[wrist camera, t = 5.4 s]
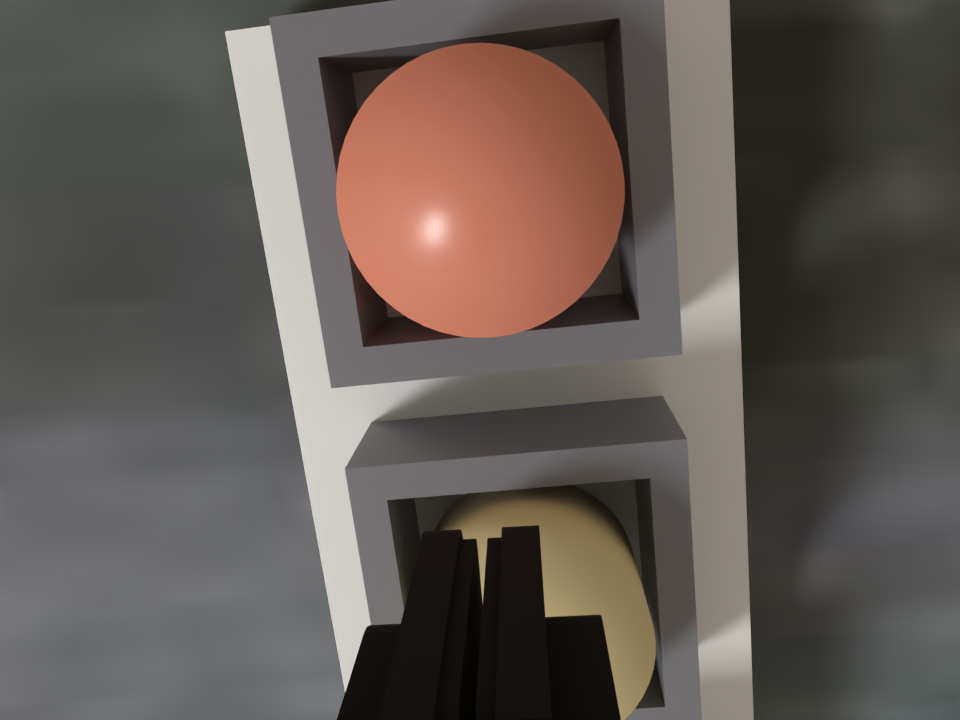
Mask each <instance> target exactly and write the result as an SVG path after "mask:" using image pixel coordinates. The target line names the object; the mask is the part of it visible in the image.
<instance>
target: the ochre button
mask: <svg viewBox="0 0 960 720" xmlns="http://www.w3.org/2000/svg"><path fill="white" fill-rule="evenodd" d="M534 525H539V530H540V545H541V560H542V575H543V590H544V605H545V617H558V616H580V615H601V616H602V620H603V625H604V631H605V636H606V642H607V647H608V653H609V658H610V663H611V669H612V674H613V680H614V685H615V691H616V696H617V701H618V707H619V712H620V718H621V720H625V719H626V718H627V717H628V716H629V715H630V714H631V713H632V711H633V710H634V709H635V708H636V706H637V705H638V703H639V702H640V700H641V699H642V698H643V696H644V694H645V691H646V689H647V687H648V685H649V683H650V680H651V677H652V673H653V670H654V664H655V657H656V641H655V634H654V627H653V624H652V620H651V616H650V612H649V609H648V605H647V601H646V598H645V594H644V590H643V586H642V583H641V579H640V575H639V572H638V568H637V564H636V560H635V557H634V553H633V550H632V546H631V543H630V540H629V538H628V536H627V534H626V532H625V529H624V528H623V526H622V525H621V523H620V522H619V520H618V519H617V517H616V516H615V515H614V514H613V513H612V512H611V511H610V509H609V508H608V507H607V506H605V505H604V504H603V503H602V502H601V501H600V500H599V499H597V498H596V497H594V496H593V495H591V494H590V493H588V492H587V491H585V490H583V489H581V488H579V487H577V486H575V485H564V486H552V487H540V488H528V489H516V490H504V491H491V492H479V493H468V494H466V495H465V496H464V497H462V498H461V499H460V500H458V501H457V502H456V503H455V504H454V505H453V506H452V507H451V508H450V509H449V510H448V511H447V512H446V513H445V515H444V516H443V517H442V519H441V520H440V521H439V523H438V525H437V526H436V528H435V530H434V531H440V530H459V529H461V531H462V535H463V539H476V540H477V547H478V557H479V568H480V579H481V591H482V602H483V594H484V580H485V566H486V552H487V539H488V538H497V537H501V535H502V527H515V526H534Z"/></svg>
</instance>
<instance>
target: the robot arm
mask: <svg viewBox="0 0 960 720" xmlns="http://www.w3.org/2000/svg"><path fill="white" fill-rule="evenodd" d="M337 720H621V718H620V712H619V707H618V701H617V696H616V691H615V685H614V680H613V674H612V669H611V663H610V658H609V653H608V647H607V642H606V636H605V631H604V625H603V620H602V616H601V615H580V616H558V617H545V605H544V590H543V575H542V560H541V545H540V530H539V525H534V526H515V527H502V535H501V537H497V538H488V539H487V552H486V566H485V580H484V594H483V602H482V591H481V579H480V568H479V557H478V547H477V540H476V539H463V535H462V531H461V529H459V530H440V531H423V534H422V537H421V542H420V546H419V550H418V554H417V558H416V562H415V567H414V571H413V575H412V579H411V583H410V587H409V591H408V596H407V600H406V604H405V608H404V612H403V616H402V621H401V624H383V625H369V626H367V627H366V630H365V632H364V634H363V637H362V641H361V644H360V647H359V650H358V654H357V657H356V660H355V663H354V666H353V670H352V673H351V676H350V679H349V682H348V686H347V689H346V692H345V695H344V698H343V702H342V705H341V708H340V711H339V715H338V718H337Z"/></svg>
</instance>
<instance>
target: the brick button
mask: <svg viewBox="0 0 960 720" xmlns="http://www.w3.org/2000/svg"><path fill="white" fill-rule="evenodd" d="M336 199H337V210H338V216H339V221H340V225H341V230H342V233H343V236H344V239H345V242H346V245H347V247H348V250H349V252H350V254H351V256H352V258H353V260H354V262H355V264H356V266H357V267H358V269H359V270H360V272H361V273H362V275H363V276H364V278H365V279H366V281H367V282H368V283H369V284H370V285H371V287H372V288H373V289H374V290H375V291H376V292H377V293H378V295H379V296H381V297H382V298H383V299H384V300H385V301H386V302H387V303H388V304H390V305H391V306H392V307H393V308H394V309H396V310H397V311H399V312H400V313H402V314H403V315H405V316H406V317H408V318H409V319H411V320H413V321H415V322H417V323H419V324H421V325H423V326H425V327H428V328H431V329H434V330H436V331H439V332H442V333H447V334H451V335H456V336H462V337H473V338H488V337H499V336H505V335H512V334H515V333H519V332H522V331H525V330H529V329H531V328H534V327H536V326H538V325H540V324H543V323H545V322H547V321H549V320H550V319H552V318H554V317H555V316H557V315H558V314H560V313H562V312H563V311H564V310H566V309H567V308H568V307H569V306H571V305H572V304H573V303H574V302H576V301H577V300H578V299H579V298H580V297H581V296H582V295H583V294H584V293H585V292H586V290H587V289H588V288H589V287H590V286H591V285H592V283H593V282H594V281H595V279H596V278H597V277H598V275H599V274H600V273H601V271H602V269H603V267H604V266H605V264H606V262H607V260H608V259H609V257H610V255H611V252H612V250H613V247H614V245H615V242H616V240H617V237H618V233H619V229H620V226H621V222H622V216H623V209H624V201H625V180H624V173H623V165H622V159H621V156H620V152H619V148H618V145H617V141H616V139H615V137H614V134H613V132H612V129H611V127H610V125H609V123H608V121H607V119H606V117H605V116H604V114H603V112H602V111H601V109H600V107H599V106H598V104H597V103H596V102H595V101H594V99H593V98H592V97H591V95H590V94H589V93H588V92H587V90H586V89H585V88H584V87H582V86H581V85H580V84H579V83H578V82H577V81H576V80H575V79H574V78H573V77H572V76H571V75H569V74H568V73H567V72H565V71H564V70H563V69H561V68H560V67H559V66H557V65H556V64H554V63H552V62H550V61H548V60H546V59H545V58H543V57H541V56H539V55H536V54H534V53H531V52H528V51H526V50H523V49H520V48H516V47H511V46H507V45H502V44H492V43H467V44H458V45H453V46H448V47H443V48H440V49H437V50H434V51H432V52H429V53H426V54H423V55H421V56H419V57H418V58H416V59H414V60H412V61H410V62H408V63H406V64H405V65H403V66H402V67H400V68H399V69H398V70H396V71H395V72H393V73H392V74H390V75H389V76H388V77H387V78H386V79H385V80H384V81H383V82H382V83H381V84H380V85H379V86H378V87H376V89H375V90H374V91H373V92H372V93H371V95H370V96H369V97H368V98H367V100H366V101H365V102H364V103H363V105H362V106H361V108H360V110H359V111H358V113H357V115H356V116H355V118H354V119H353V122H352V124H351V126H350V128H349V130H348V133H347V135H346V137H345V140H344V144H343V147H342V150H341V154H340V158H339V164H338V170H337V180H336Z"/></svg>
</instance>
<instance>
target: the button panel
mask: <svg viewBox="0 0 960 720" xmlns="http://www.w3.org/2000/svg"><path fill="white" fill-rule="evenodd" d="M269 22H270V26H262V27H255V28H248V29H240V30H233V31H226V32H225V34H226V40H227V45H228V51H229V56H230V62H231V67H232V73H233V78H234V84H235V89H236V95H237V100H238V106H239V111H240V117H241V122H242V128H243V133H244V139H245V144H246V150H247V155H248V161H249V166H250V172H251V177H252V183H253V188H254V194H255V199H256V205H257V210H258V216H259V221H260V227H261V232H262V238H263V243H264V249H265V254H266V260H267V265H268V271H269V276H270V282H271V287H272V293H273V298H274V304H275V309H276V315H277V320H278V326H279V331H280V337H281V342H282V348H283V353H284V359H285V364H286V370H287V375H288V381H289V386H290V392H291V397H292V403H293V408H294V414H295V419H296V425H297V430H298V436H299V441H300V447H301V452H302V458H303V463H304V469H305V474H306V480H307V485H308V491H309V496H310V502H311V507H312V513H313V518H314V524H315V529H316V535H317V540H318V546H319V551H320V557H321V562H322V568H323V573H324V579H325V584H326V590H327V595H328V601H329V606H330V612H331V617H332V623H333V628H334V634H335V639H336V645H337V650H338V656H339V661H340V667H341V672H342V678H343V683H344V689H345V692H346V689H347V686H348V682H349V679H350V676H351V673H352V670H353V666H354V663H355V660H356V657H357V654H358V650H359V647H360V644H361V641H362V637H363V634H364V632H365V630H366V627H367V626H369V625H383V624H401V621H402V616H403V612H404V608H405V604H406V600H407V596H408V591H409V587H410V583H411V579H412V575H413V571H414V567H415V562H416V558H417V554H418V550H419V546H420V542H421V537H422V534H423V531H434V530H435V528H436V526H437V525H438V523H439V521H440V520H441V519H442V517H443V516H444V515H445V513H446V512H447V511H448V510H449V509H450V508H451V507H452V506H453V505H454V504H455V503H456V502H457V501H458V500H460V499H461V498H462V497H464V496H465V495H466V494H468V493H479V492H491V491H504V490H516V489H528V488H540V487H552V486H564V485H575V486H577V487H579V488H581V489H583V490H585V491H587V492H588V493H590V494H591V495H593V496H594V497H596V498H597V499H599V500H600V501H601V502H602V503H603V504H604V505H605V506H607V507H608V508H609V509H610V511H611V512H612V513H613V514H614V515H615V516H616V517H617V519H618V520H619V522H620V523H621V525H622V526H623V528H624V529H625V532H626V534H627V536H628V538H629V540H630V543H631V546H632V550H633V553H634V557H635V560H636V564H637V568H638V572H639V575H640V579H641V583H642V586H643V590H644V594H645V598H646V601H647V605H648V609H649V612H650V616H651V620H652V624H653V627H654V634H655V641H656V657H655V664H654V670H653V673H652V677H651V680H650V683H649V685H648V687H647V689H646V691H645V694H644V696H643V698H642V699H641V700H640V702H639V703H638V705H637V706H636V708H635V709H634V710H633V711H632V713H631V714H630V715H629V716H628V717H627V718H626V719H625V720H754V716H753V686H752V656H751V626H750V596H749V567H748V537H747V507H746V477H745V447H744V417H743V388H742V358H741V328H740V298H739V268H738V238H737V209H736V179H735V149H734V119H733V89H732V59H731V30H730V0H392V1H385V2H378V3H370V4H363V5H356V6H348V7H341V8H333V9H326V10H319V11H311V12H304V13H297V14H289V15H282V16H275V17H269ZM467 43H492V44H502V45H507V46H511V47H516V48H520V49H523V50H526V51H528V52H531V53H534V54H536V55H539V56H541V57H543V58H545V59H546V60H548V61H550V62H552V63H554V64H556V65H557V66H559V67H560V68H561V69H563V70H564V71H565V72H567V73H568V74H569V75H571V76H572V77H573V78H574V79H575V80H576V81H577V82H578V83H579V84H580V85H581V86H582V87H584V88H585V89H586V90H587V92H588V93H589V94H590V95H591V97H592V98H593V99H594V101H595V102H596V103H597V104H598V106H599V107H600V109H601V111H602V112H603V114H604V116H605V117H606V119H607V121H608V123H609V125H610V127H611V129H612V132H613V134H614V137H615V139H616V141H617V145H618V148H619V152H620V156H621V159H622V165H623V173H624V180H625V201H624V209H623V216H622V222H621V226H620V229H619V233H618V237H617V240H616V242H615V245H614V247H613V250H612V252H611V255H610V257H609V259H608V260H607V262H606V264H605V266H604V267H603V269H602V271H601V273H600V274H599V275H598V277H597V278H596V279H595V281H594V282H593V283H592V285H591V286H590V287H589V288H588V289H587V290H586V292H585V293H584V294H583V295H582V296H581V297H580V298H579V299H578V300H577V301H576V302H574V303H573V304H572V305H571V306H569V307H568V308H567V309H566V310H564V311H563V312H562V313H560V314H558V315H557V316H555V317H554V318H552V319H550V320H549V321H547V322H545V323H543V324H540V325H538V326H536V327H534V328H531V329H529V330H525V331H522V332H519V333H515V334H512V335H505V336H499V337H488V338H473V337H462V336H456V335H451V334H447V333H442V332H439V331H436V330H434V329H431V328H428V327H425V326H423V325H421V324H419V323H417V322H415V321H413V320H411V319H409V318H408V317H406V316H405V315H403V314H402V313H400V312H399V311H397V310H396V309H394V308H393V307H392V306H391V305H390V304H388V303H387V302H386V301H385V300H384V299H383V298H382V297H381V296H379V295H378V293H377V292H376V291H375V290H374V289H373V288H372V287H371V285H370V284H369V283H368V282H367V281H366V279H365V278H364V276H363V275H362V273H361V272H360V270H359V269H358V267H357V266H356V264H355V262H354V260H353V258H352V256H351V254H350V252H349V250H348V247H347V245H346V242H345V239H344V236H343V233H342V230H341V225H340V221H339V216H338V210H337V199H336V180H337V170H338V164H339V158H340V154H341V150H342V147H343V144H344V140H345V137H346V135H347V133H348V130H349V128H350V126H351V124H352V122H353V119H354V118H355V116H356V115H357V113H358V111H359V110H360V108H361V106H362V105H363V103H364V102H365V101H366V100H367V98H368V97H369V96H370V95H371V93H372V92H373V91H374V90H375V89H376V87H378V86H379V85H380V84H381V83H382V82H383V81H384V80H385V79H386V78H387V77H388V76H389V75H390V74H392V73H393V72H395V71H396V70H398V69H399V68H400V67H402V66H403V65H405V64H406V63H408V62H410V61H412V60H414V59H416V58H418V57H419V56H421V55H423V54H426V53H429V52H432V51H434V50H437V49H440V48H443V47H448V46H453V45H458V44H467Z"/></svg>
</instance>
